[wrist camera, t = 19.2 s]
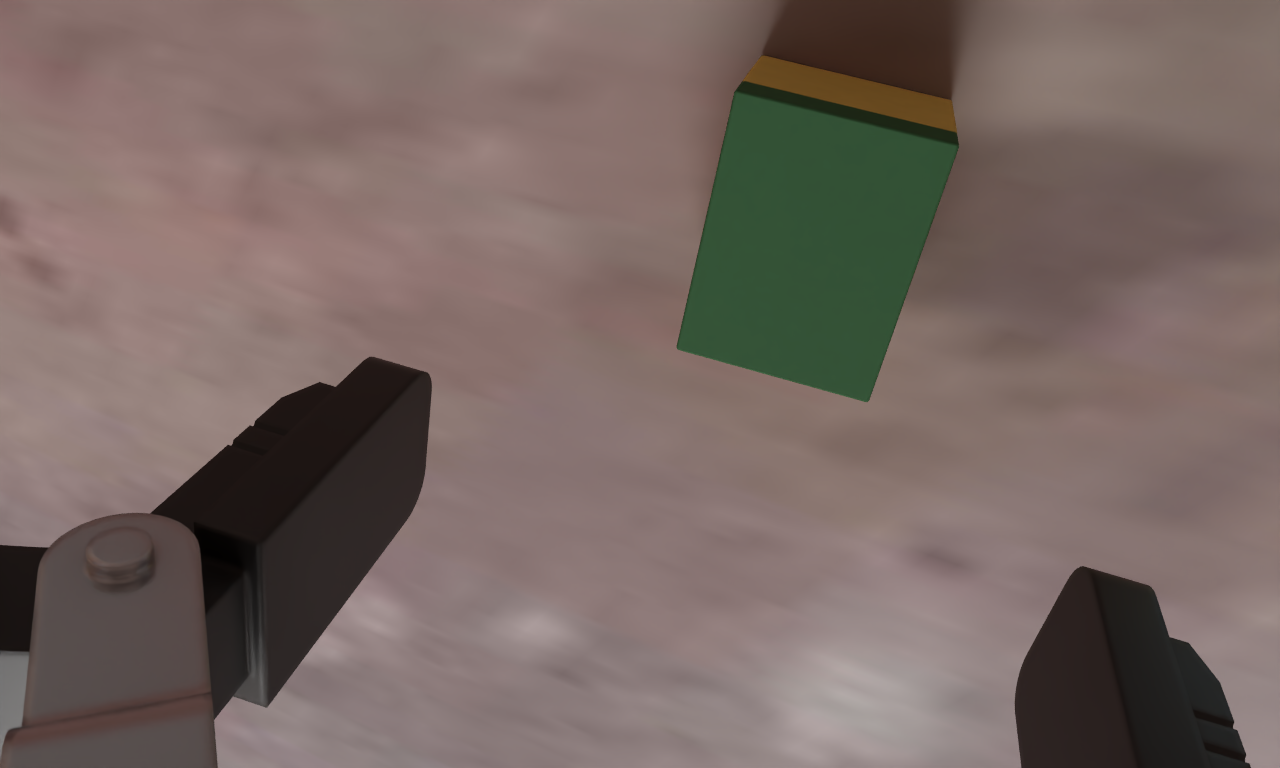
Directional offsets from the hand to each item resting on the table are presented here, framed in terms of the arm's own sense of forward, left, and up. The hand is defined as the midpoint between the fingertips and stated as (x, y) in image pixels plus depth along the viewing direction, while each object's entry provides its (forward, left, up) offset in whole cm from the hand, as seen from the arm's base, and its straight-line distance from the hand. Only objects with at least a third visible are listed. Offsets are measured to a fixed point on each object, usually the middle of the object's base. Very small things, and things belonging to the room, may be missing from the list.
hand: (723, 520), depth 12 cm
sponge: (0, 0, -14) cm, 14 cm away
